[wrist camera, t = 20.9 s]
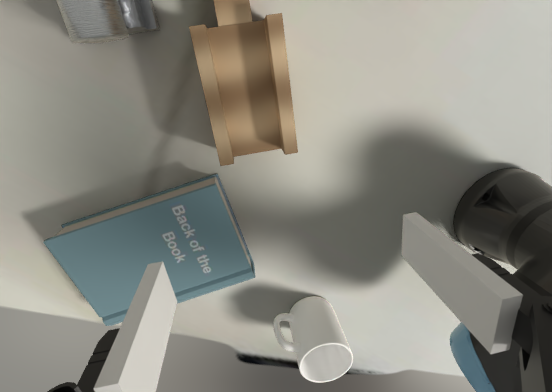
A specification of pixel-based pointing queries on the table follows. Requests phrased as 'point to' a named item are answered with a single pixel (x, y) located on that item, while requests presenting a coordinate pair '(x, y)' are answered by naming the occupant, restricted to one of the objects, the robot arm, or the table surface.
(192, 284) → the book
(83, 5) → the axle
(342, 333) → the cup
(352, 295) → the table surface
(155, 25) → the v block
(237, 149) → the beam
